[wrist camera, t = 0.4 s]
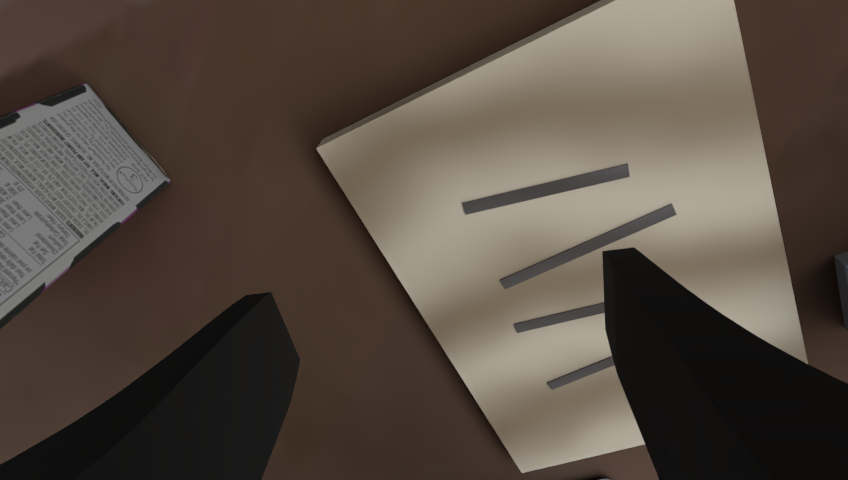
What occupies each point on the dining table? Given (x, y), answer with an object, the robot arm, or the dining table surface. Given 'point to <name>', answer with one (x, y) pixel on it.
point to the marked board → (573, 207)
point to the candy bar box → (64, 189)
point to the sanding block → (843, 282)
